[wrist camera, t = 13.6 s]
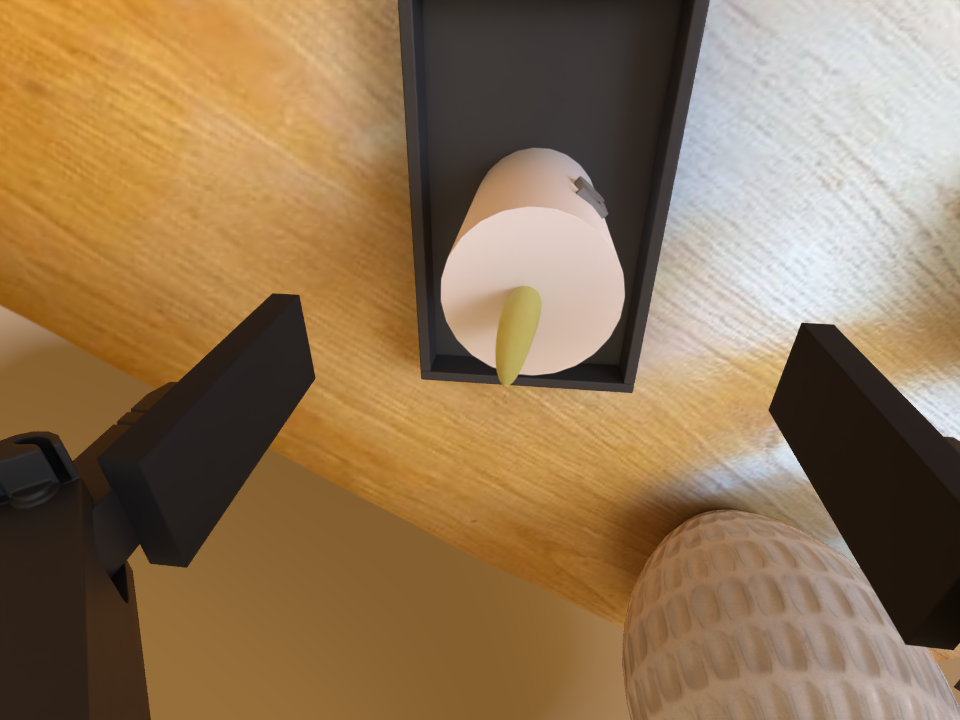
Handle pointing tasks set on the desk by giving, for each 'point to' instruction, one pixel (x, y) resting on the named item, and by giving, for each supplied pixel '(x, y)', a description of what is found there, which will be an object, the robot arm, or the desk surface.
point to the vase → (767, 632)
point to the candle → (533, 268)
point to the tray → (545, 140)
